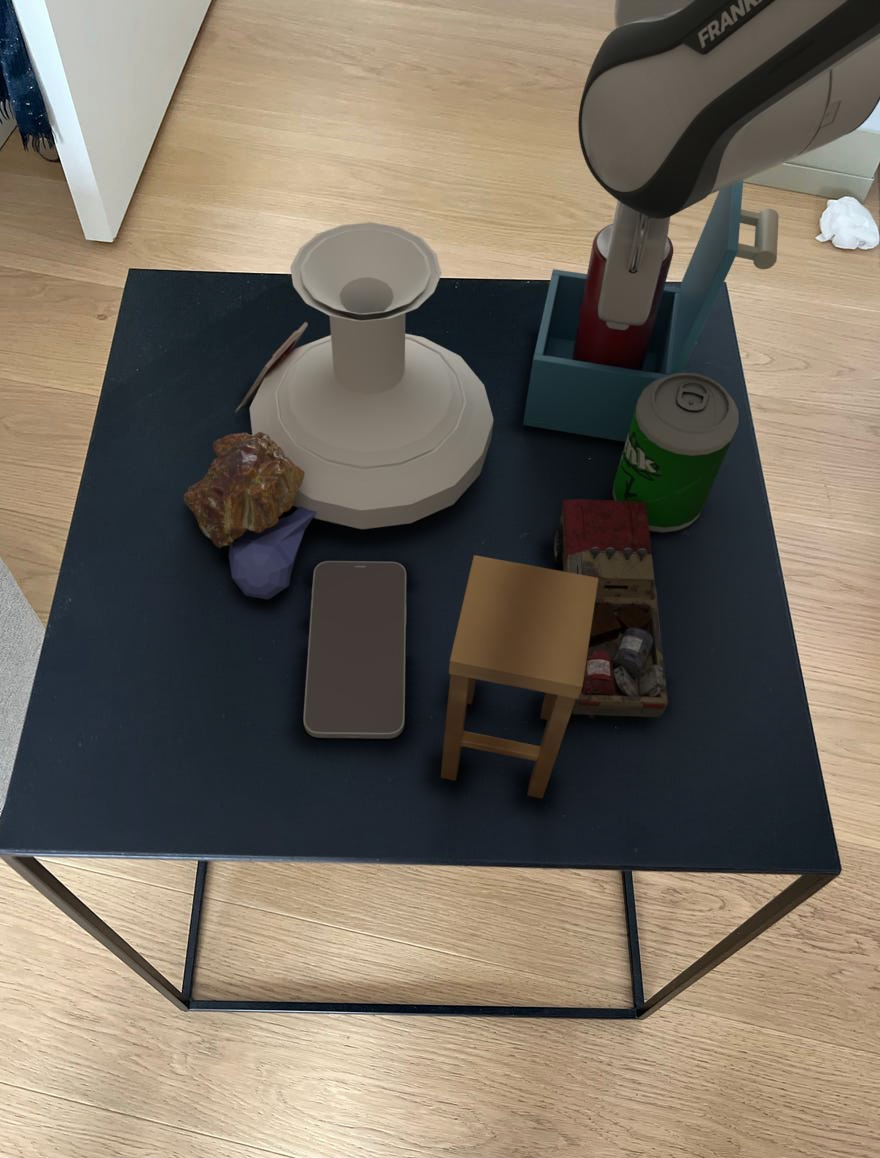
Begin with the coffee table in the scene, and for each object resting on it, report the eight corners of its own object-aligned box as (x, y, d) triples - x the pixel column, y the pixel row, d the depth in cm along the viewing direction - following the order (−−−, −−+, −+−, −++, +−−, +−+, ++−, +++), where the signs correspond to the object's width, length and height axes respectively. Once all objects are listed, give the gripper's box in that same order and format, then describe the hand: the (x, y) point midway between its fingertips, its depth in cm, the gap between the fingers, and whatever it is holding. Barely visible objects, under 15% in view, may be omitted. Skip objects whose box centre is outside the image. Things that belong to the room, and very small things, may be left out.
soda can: (707, 482, 84) (751, 378, 74) (691, 550, 80) (734, 450, 70) (620, 460, 85) (651, 354, 75) (600, 526, 82) (630, 424, 71)
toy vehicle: (636, 534, 81) (658, 472, 75) (657, 732, 72) (684, 682, 65) (552, 531, 81) (566, 470, 75) (562, 729, 72) (579, 679, 65)
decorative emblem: (314, 325, 89) (247, 410, 92) (311, 322, 89) (243, 407, 92) (302, 324, 79) (227, 420, 82) (299, 321, 79) (223, 417, 82)
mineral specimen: (228, 411, 81) (262, 481, 85) (149, 459, 79) (187, 529, 82) (297, 439, 72) (332, 516, 76) (210, 494, 69) (250, 570, 73)
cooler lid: (726, 249, 68) (789, 263, 68) (735, 152, 74) (792, 164, 74) (670, 376, 79) (723, 388, 79) (681, 282, 85) (731, 294, 85)
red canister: (645, 344, 88) (677, 224, 77) (638, 394, 85) (670, 276, 74) (576, 334, 89) (598, 214, 78) (566, 383, 85) (588, 264, 75)
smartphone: (301, 733, 71) (313, 560, 78) (302, 738, 72) (314, 567, 79) (404, 734, 71) (406, 561, 78) (404, 739, 72) (406, 568, 79)
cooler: (522, 425, 87) (533, 359, 81) (541, 336, 93) (552, 268, 86) (652, 446, 86) (673, 381, 79) (663, 355, 92) (684, 288, 85)
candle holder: (486, 556, 80) (509, 381, 63) (240, 544, 80) (199, 366, 64) (490, 378, 90) (511, 186, 73) (272, 368, 91) (243, 175, 74)
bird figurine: (201, 578, 74) (219, 557, 80) (268, 619, 75) (281, 595, 81) (254, 489, 72) (268, 475, 78) (322, 532, 73) (331, 515, 79)
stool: (558, 707, 73) (598, 577, 58) (543, 800, 69) (582, 686, 55) (458, 687, 74) (473, 554, 59) (438, 778, 70) (449, 660, 55)
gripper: (694, 227, 63) (649, 388, 74) (715, 54, 73) (672, 219, 85) (595, 214, 63) (566, 375, 75) (629, 44, 74) (599, 209, 85)
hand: (622, 291), depth 80 cm, fingers closed on red canister, 6 cm apart
